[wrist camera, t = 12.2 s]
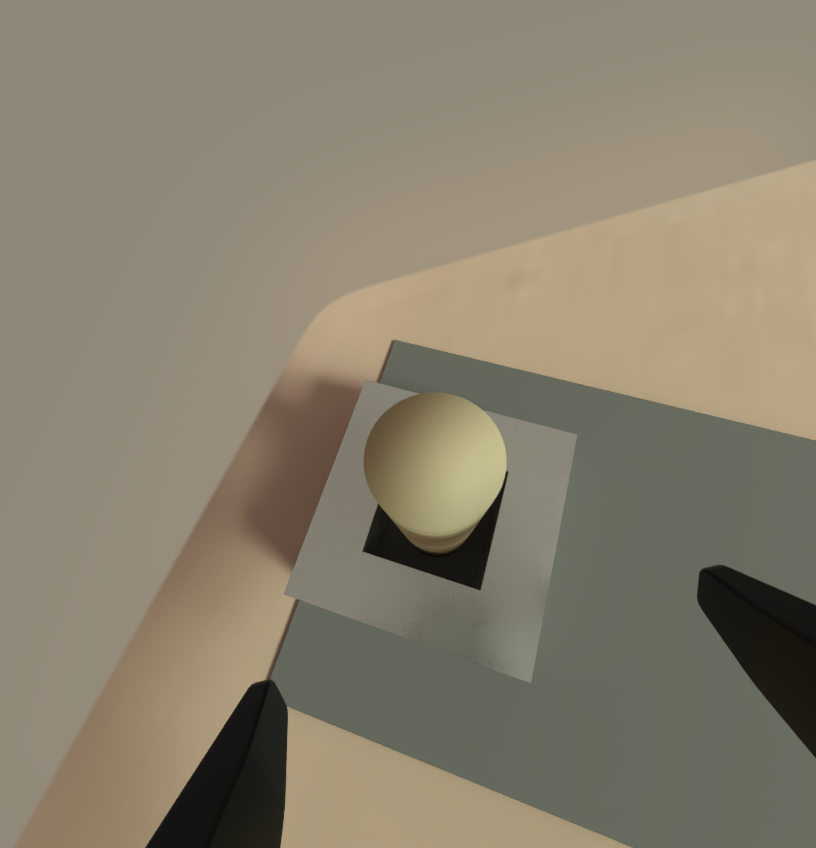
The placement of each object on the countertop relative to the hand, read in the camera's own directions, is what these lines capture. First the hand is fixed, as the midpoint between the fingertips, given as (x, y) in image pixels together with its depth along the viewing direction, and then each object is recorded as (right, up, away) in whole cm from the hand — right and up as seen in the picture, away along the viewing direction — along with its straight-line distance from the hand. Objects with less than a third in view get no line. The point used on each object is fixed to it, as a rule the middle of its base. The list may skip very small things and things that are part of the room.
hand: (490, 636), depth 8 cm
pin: (0, 0, +11) cm, 11 cm away
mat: (+5, -2, +10) cm, 12 cm away
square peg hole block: (0, 0, +11) cm, 11 cm away
